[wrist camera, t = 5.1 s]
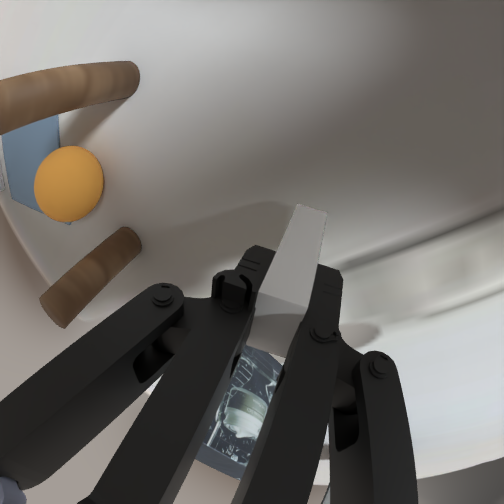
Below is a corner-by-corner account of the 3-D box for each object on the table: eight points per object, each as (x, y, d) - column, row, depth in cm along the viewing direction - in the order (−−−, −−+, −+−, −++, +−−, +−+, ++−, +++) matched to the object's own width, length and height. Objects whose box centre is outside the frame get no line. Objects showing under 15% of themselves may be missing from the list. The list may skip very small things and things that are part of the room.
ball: (88, 132, 18) (25, 151, 14) (111, 145, 15) (31, 171, 11) (93, 192, 21) (38, 214, 17) (118, 218, 18) (51, 247, 15)
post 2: (115, 223, 21) (34, 290, 13) (140, 232, 20) (57, 307, 13) (119, 249, 22) (47, 317, 15) (142, 258, 22) (70, 334, 15)
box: (316, 392, 25) (291, 487, 16) (267, 400, 28) (237, 480, 20) (247, 328, 22) (194, 441, 14) (200, 344, 26) (149, 433, 18)
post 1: (112, 62, 13) (-10, 84, 6) (141, 59, 13) (9, 76, 6) (110, 98, 15) (-8, 135, 8) (138, 98, 14) (10, 135, 7)
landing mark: (0, 93, 17) (-1, 94, 17) (58, 78, 15) (56, 79, 14) (13, 198, 25) (12, 199, 25) (71, 224, 23) (69, 225, 23)
